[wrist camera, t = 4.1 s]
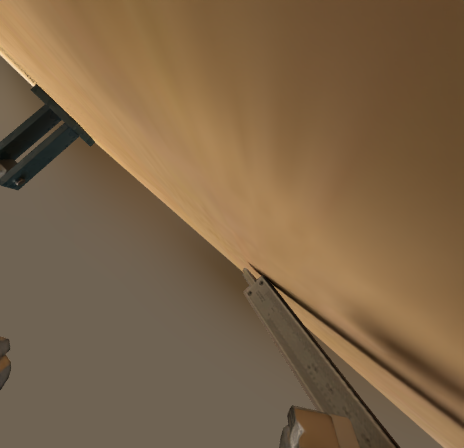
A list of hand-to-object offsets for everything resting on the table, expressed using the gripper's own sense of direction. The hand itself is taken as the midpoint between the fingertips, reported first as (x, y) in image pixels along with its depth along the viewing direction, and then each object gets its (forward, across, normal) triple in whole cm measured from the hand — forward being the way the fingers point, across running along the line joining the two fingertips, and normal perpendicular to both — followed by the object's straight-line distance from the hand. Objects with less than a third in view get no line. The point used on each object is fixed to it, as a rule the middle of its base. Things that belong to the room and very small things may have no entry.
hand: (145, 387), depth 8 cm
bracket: (+41, -31, +6) cm, 51 cm away
